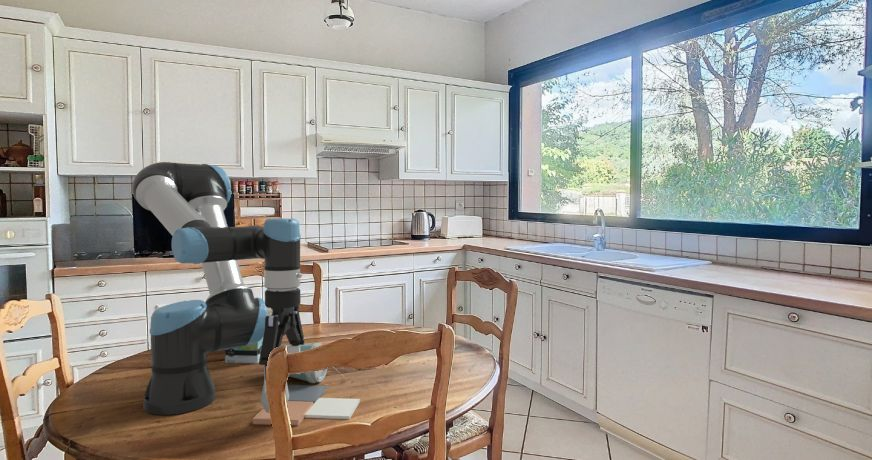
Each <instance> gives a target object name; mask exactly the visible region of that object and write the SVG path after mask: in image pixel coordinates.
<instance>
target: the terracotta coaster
mask: <svg viewBox="0 0 872 460" xmlns="http://www.w3.org/2000/svg"><path fill="white" fill-rule="evenodd" d="M287 405H288V411H289V415H290V421H291V425H290V426H300V424H301V423H302V422H303V420H304V419H305V414H306V413H307V412H308V410H309V409H310V408H311V407H312V406H313V402H304V401H288V402H287ZM252 425H268V426H269V425H271V420H270V413H268V412H266V411H265V409H264V407H263V408H262V409H261V410H260V411H259V412H258V413H257V414H255V416H254V417H253V418H252ZM271 426H272V425H271Z"/></svg>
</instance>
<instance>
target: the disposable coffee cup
mask: <svg viewBox="0 0 872 460" xmlns="http://www.w3.org/2000/svg"><path fill="white" fill-rule="evenodd" d="M289 345H290V344H286V345H285V346H287V349H288V346H289ZM321 345H323V344H322V343H321V342H315V343H313V342H311V343H304V345H299V346H300V352H301V351H305V350H309V349H313V348H316V347H319V346H321ZM290 346H292V345H290ZM327 372H328V368H327V369H324V370H319V371H311V372H306V373H300V374H291V375H289V376H288V377H289V378H293V379H297V380H301V381H305V382H308V383H309V384H317V383H322V382H323V381H324V379H325V377H326V375H327Z"/></svg>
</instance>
